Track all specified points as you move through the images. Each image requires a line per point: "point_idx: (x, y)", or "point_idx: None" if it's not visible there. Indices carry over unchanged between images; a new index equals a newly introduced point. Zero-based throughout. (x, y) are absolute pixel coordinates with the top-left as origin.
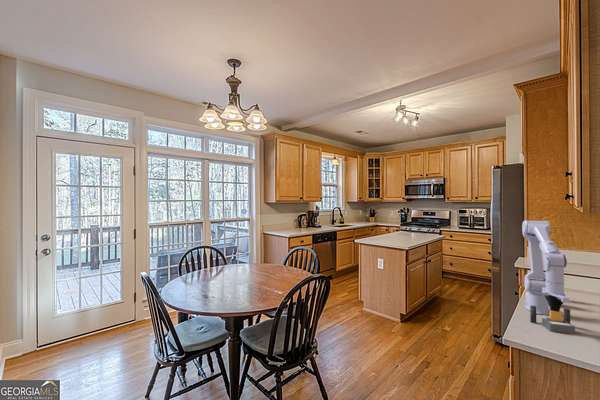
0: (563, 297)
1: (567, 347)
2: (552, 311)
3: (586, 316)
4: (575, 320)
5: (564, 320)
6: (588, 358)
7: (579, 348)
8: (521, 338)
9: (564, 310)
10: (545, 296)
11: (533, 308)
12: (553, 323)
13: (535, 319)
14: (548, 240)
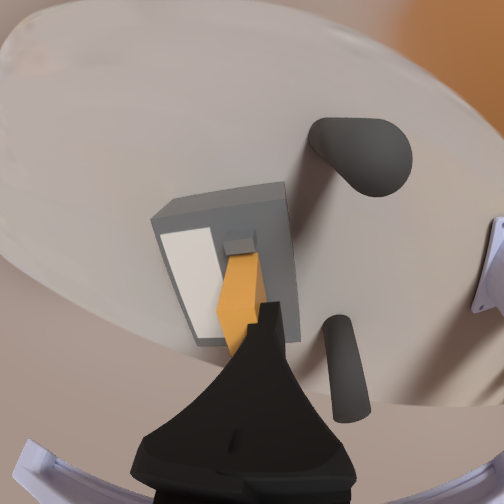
0: (14, 478)
1: (26, 215)
2: (219, 320)
3: (450, 394)
4: (418, 369)
5: None
6: (3, 248)
7: (44, 255)
8: (19, 57)
9: (349, 399)
10: (286, 479)
11: (334, 143)
12: (168, 244)
13: (315, 149)
14: None
